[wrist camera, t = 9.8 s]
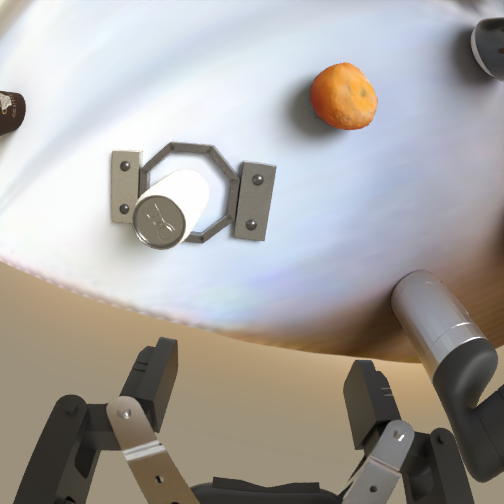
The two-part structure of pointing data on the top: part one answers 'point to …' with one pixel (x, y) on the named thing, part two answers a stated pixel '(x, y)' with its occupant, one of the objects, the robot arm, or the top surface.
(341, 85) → the fruit
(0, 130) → the coffee mug
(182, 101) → the top surface
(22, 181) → the top surface
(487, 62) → the pump dispenser
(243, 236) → the octagonal ring bracket
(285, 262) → the top surface
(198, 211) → the can
